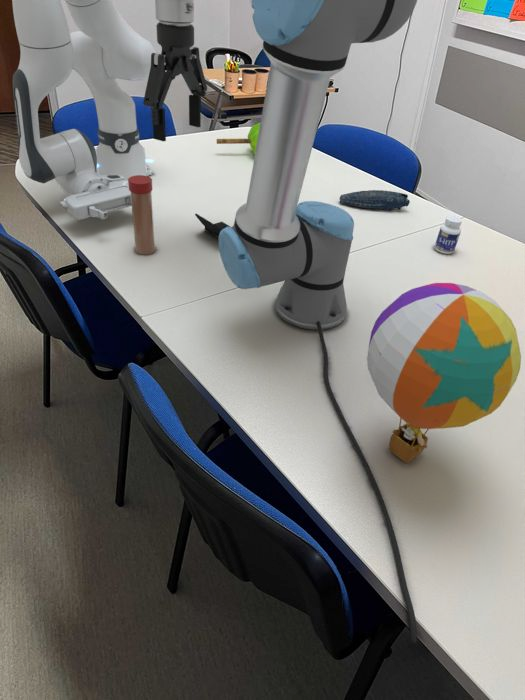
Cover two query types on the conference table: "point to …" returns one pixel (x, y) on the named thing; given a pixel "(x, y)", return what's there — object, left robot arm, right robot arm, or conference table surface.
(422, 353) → the toy
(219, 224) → the handheld gaming console
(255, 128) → the decorative tree
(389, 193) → the fish model
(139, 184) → the lid
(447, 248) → the pill bottle
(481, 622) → the conference table surface
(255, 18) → the right robot arm
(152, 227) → the jar
